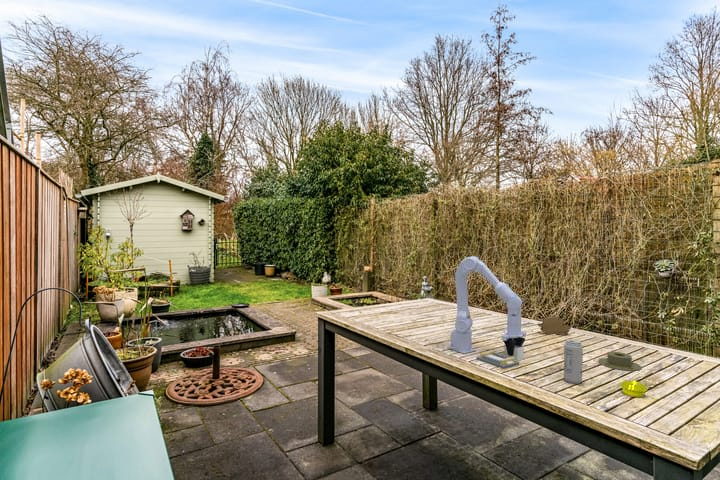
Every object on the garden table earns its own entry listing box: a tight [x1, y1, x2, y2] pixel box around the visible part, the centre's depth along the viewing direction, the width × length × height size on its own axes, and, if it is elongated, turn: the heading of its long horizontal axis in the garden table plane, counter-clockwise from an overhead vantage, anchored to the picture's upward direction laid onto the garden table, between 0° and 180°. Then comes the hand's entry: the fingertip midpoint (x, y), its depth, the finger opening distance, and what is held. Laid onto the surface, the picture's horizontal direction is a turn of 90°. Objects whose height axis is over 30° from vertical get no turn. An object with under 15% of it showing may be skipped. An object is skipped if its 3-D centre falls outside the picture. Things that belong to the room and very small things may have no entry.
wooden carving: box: [537, 315, 572, 335], centre depth 212 cm, size 16×5×10 cm, turn 80°
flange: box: [598, 351, 642, 372], centre depth 163 cm, size 5×15×15 cm
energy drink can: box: [563, 338, 584, 385], centre depth 145 cm, size 6×6×15 cm
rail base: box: [476, 350, 520, 370], centre depth 166 cm, size 14×10×3 cm
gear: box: [619, 379, 648, 398], centre depth 134 cm, size 8×4×8 cm
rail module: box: [503, 344, 525, 362], centre depth 172 cm, size 7×4×5 cm, turn 32°
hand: (513, 354), depth 172 cm, fingers closed on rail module, 4 cm apart
